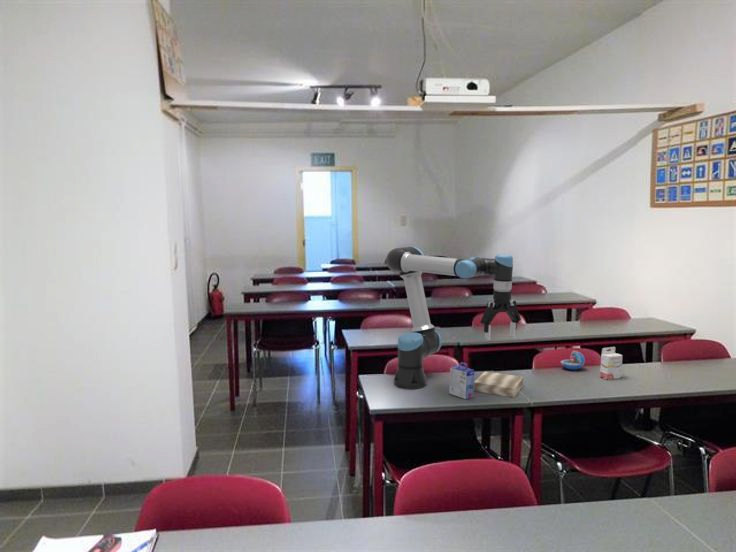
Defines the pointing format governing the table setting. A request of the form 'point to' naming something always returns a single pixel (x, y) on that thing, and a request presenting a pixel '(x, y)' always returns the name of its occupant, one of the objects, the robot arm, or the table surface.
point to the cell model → (574, 361)
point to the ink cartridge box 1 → (461, 381)
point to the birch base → (498, 384)
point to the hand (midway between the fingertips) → (500, 338)
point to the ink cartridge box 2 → (610, 363)
